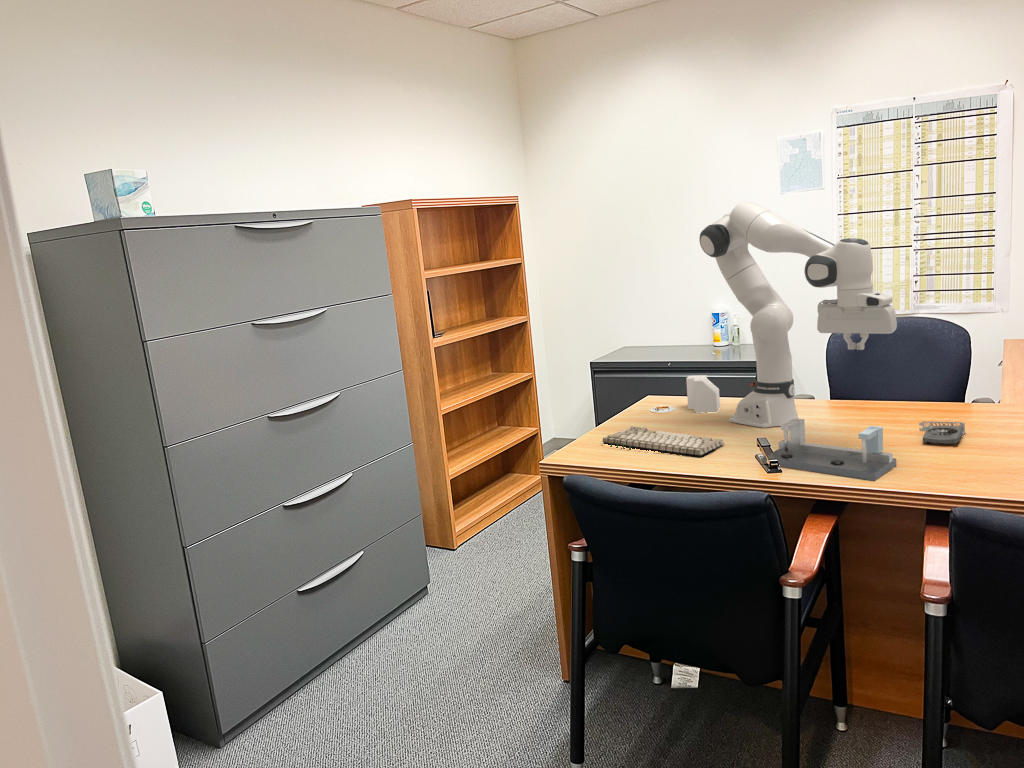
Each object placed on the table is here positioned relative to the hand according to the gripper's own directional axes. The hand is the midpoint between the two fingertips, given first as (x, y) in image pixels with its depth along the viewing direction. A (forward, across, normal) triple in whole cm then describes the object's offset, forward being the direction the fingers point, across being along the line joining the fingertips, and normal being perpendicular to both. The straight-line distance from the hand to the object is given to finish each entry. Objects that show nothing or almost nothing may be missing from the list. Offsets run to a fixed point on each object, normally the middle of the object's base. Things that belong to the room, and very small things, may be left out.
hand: (856, 349), depth 205 cm
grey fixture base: (+29, -2, -15) cm, 33 cm away
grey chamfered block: (+30, -68, +28) cm, 79 cm away
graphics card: (+30, +14, +22) cm, 40 cm away
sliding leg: (+26, +9, -14) cm, 31 cm away
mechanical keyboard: (+30, -54, -18) cm, 64 cm away
